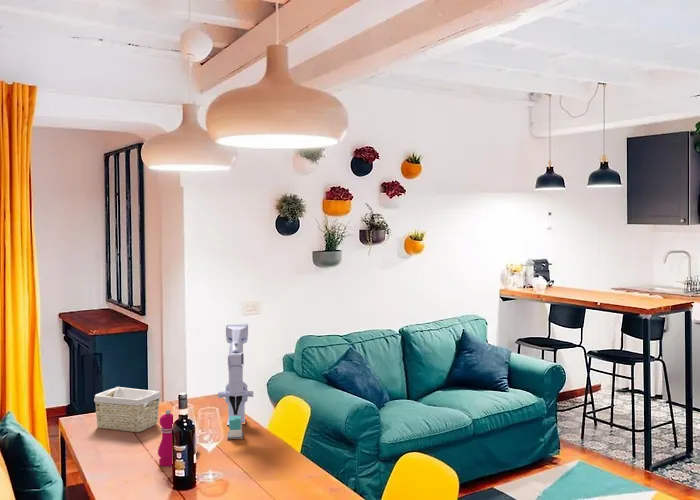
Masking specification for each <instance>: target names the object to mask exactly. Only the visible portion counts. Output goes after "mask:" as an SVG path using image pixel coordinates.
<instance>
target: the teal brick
mask: <svg viewBox="0 0 700 500" xmlns="http://www.w3.org/2000/svg"><path fill="white" fill-rule="evenodd" d="M228 427H229V429H228V431H229V430H241V416H230V420H229V426H228Z"/></svg>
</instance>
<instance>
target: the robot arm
mask: <svg viewBox="0 0 700 500" xmlns="http://www.w3.org/2000/svg"><path fill="white" fill-rule="evenodd" d="M225 338H226V342H227V343H228V344H229V346H228V347H229V349H228V350H229V351H228V352H229V353H228V355H227V370H228V383H227V384H226V385H225V391H218V392H217V398H218V399H221V398H224V400H225V403H226V404H227V405H228V406H227V407H228V409H227V412H228V415H227V417H228V418H227V422H226V425H229V420H230V416H241V424H242V423H244V422H245V418H246V403H247V402H248V399H249V397H250V398H254V391H253V390H252V391H251V390H249V389H248V384H247V383H246V382H244V379H243V377H244V375H243V373H244V371H243V369H244V364H245V360H244V359H245V355H244V344H246V343H247V342H248V340H249V339H248V338H249V324H248V323H226V324H225Z"/></svg>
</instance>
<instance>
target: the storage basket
mask: <svg viewBox="0 0 700 500" xmlns="http://www.w3.org/2000/svg"><path fill="white" fill-rule="evenodd" d="M160 398H161V392H160V391H158V390H150V389H149V390H148V389H142V388H141V389H139V388H131V387H124V386H123V387H121V386H115V387H114V388H110V389H107V390H104V391H102V392H99V393H96V394H95V395H94V399H93V401H94V403H95V414H96V415H95V416H96V417H95V418H96V425H97V426H96V427H97V428H100V429H107V430H108V429H109V430H113V431H115V430H116V431H122V432H132V433H140V432H143V431H145V430H147V429H149V428H151V427H154V426H155V425H157V424H158V422H159V421H158V419H159V409H160V405H159V404H160Z"/></svg>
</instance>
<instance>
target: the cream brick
mask: <svg viewBox="0 0 700 500" xmlns="http://www.w3.org/2000/svg"><path fill="white" fill-rule="evenodd" d="M242 429H243V425H241V430H229V429H228V432H229V437H242V431H243V430H242Z"/></svg>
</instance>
